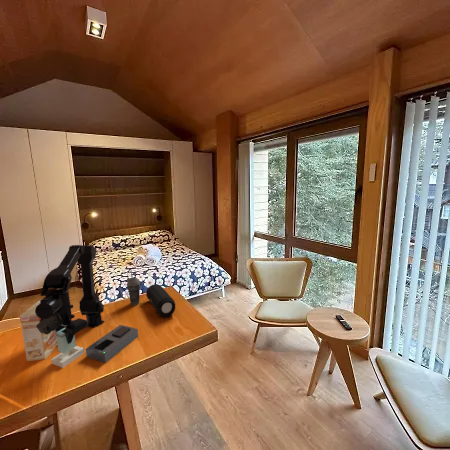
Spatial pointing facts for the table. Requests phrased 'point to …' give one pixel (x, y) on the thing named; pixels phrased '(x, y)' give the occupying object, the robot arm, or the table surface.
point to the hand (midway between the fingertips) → (66, 342)
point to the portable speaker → (161, 300)
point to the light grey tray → (67, 356)
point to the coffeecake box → (36, 336)
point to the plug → (64, 342)
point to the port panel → (111, 343)
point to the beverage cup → (134, 290)
